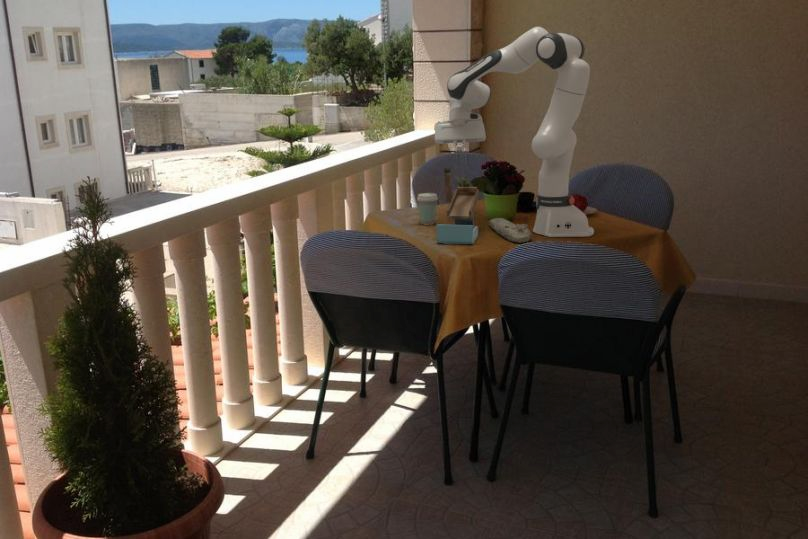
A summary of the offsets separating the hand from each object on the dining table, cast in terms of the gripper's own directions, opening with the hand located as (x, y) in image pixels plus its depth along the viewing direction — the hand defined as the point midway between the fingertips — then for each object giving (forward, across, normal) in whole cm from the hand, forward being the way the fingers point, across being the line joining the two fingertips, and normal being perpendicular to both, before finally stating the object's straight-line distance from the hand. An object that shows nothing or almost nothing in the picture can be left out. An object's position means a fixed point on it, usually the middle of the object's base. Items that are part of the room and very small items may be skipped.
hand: (459, 152), depth 287 cm
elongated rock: (+34, +19, +2) cm, 39 cm away
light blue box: (+39, +1, -9) cm, 40 cm away
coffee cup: (+25, -15, +14) cm, 32 cm away
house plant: (+12, -3, +35) cm, 37 cm away
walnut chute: (+26, +1, -1) cm, 26 cm away
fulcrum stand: (+32, +2, +3) cm, 32 cm away
